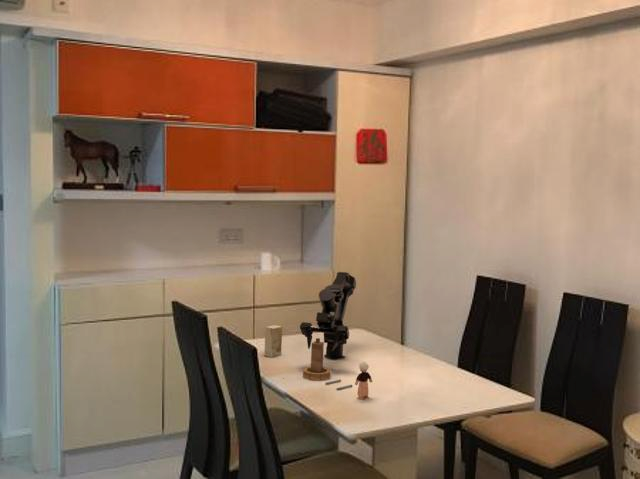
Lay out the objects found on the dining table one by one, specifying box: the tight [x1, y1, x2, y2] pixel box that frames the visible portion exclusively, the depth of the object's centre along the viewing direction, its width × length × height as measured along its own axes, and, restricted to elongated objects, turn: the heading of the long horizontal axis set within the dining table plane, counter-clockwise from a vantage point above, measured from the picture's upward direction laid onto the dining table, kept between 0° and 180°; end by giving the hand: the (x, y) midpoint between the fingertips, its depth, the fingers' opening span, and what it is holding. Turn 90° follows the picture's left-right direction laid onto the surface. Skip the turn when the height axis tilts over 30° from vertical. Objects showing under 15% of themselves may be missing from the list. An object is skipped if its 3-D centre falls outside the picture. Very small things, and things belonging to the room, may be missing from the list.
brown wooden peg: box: [310, 337, 325, 373], centre depth 262 cm, size 4×4×15 cm
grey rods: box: [325, 379, 353, 391], centre depth 252 cm, size 8×8×1 cm
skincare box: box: [263, 324, 283, 358], centre depth 289 cm, size 6×4×12 cm
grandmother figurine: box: [354, 361, 373, 401], centre depth 238 cm, size 8×4×13 cm, turn 141°
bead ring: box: [302, 366, 331, 382], centre depth 262 cm, size 10×10×2 cm
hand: (320, 349), depth 266 cm, fingers open, 9 cm apart
